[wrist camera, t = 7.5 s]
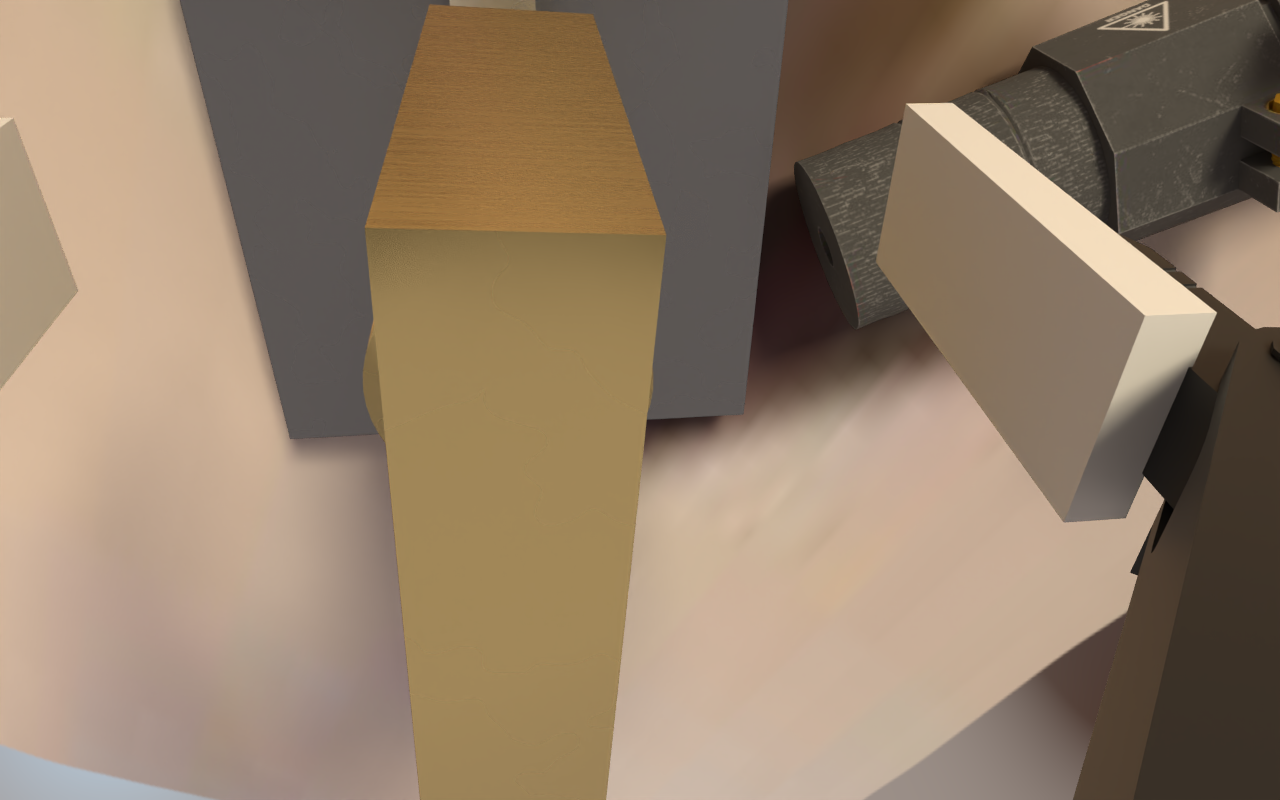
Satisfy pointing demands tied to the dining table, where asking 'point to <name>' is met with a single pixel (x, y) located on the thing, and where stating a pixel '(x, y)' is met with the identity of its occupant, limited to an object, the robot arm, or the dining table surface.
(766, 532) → the dining table surface
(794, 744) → the dining table surface
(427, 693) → the lever handle
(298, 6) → the post base
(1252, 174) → the laser sight
